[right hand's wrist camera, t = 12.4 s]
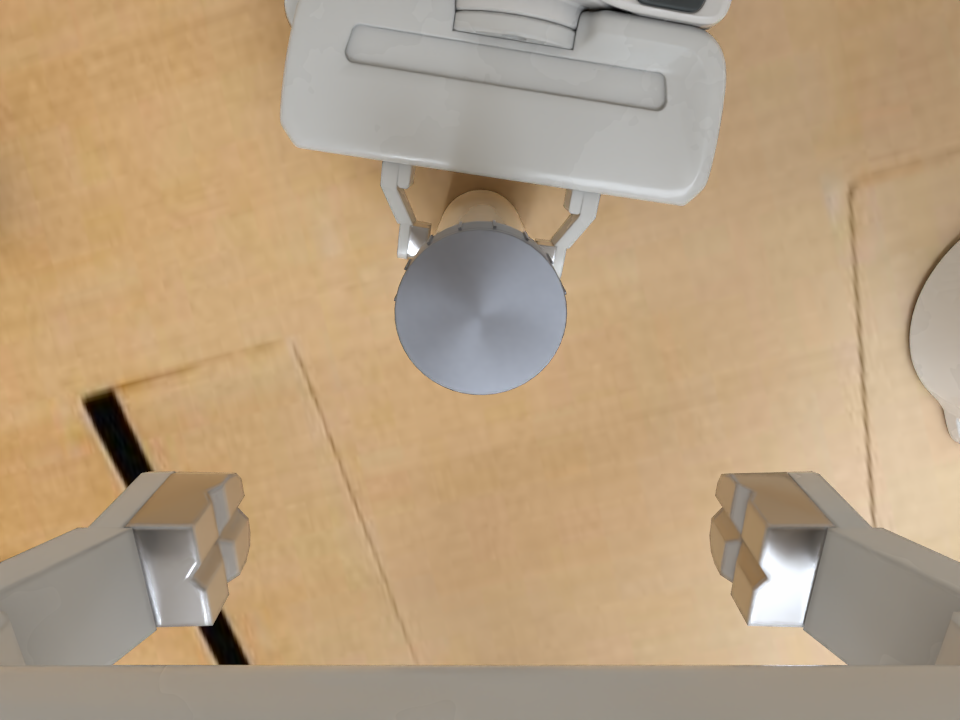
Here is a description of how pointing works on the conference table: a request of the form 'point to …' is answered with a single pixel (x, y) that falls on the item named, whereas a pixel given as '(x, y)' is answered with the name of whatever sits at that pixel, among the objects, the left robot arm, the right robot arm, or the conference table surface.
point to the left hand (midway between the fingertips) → (478, 267)
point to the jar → (480, 210)
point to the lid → (480, 308)
